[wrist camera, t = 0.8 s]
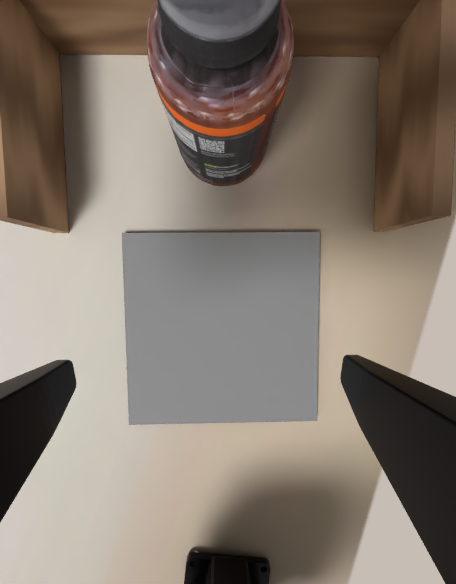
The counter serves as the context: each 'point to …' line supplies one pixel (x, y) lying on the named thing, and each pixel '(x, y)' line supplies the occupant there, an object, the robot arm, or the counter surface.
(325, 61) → the counter surface
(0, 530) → the counter surface
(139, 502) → the counter surface
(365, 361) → the robot arm
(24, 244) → the counter surface
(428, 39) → the open wooden enclosure
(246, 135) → the supplement bottle
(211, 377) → the mat
